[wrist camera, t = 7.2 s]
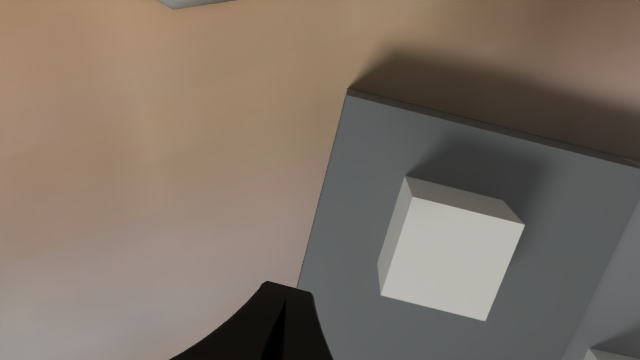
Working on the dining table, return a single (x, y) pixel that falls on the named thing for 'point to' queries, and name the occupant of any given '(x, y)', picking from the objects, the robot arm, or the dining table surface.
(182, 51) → the dining table surface
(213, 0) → the flask
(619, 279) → the tray
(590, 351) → the tile
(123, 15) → the dining table surface
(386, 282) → the tile
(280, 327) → the robot arm
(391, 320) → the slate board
